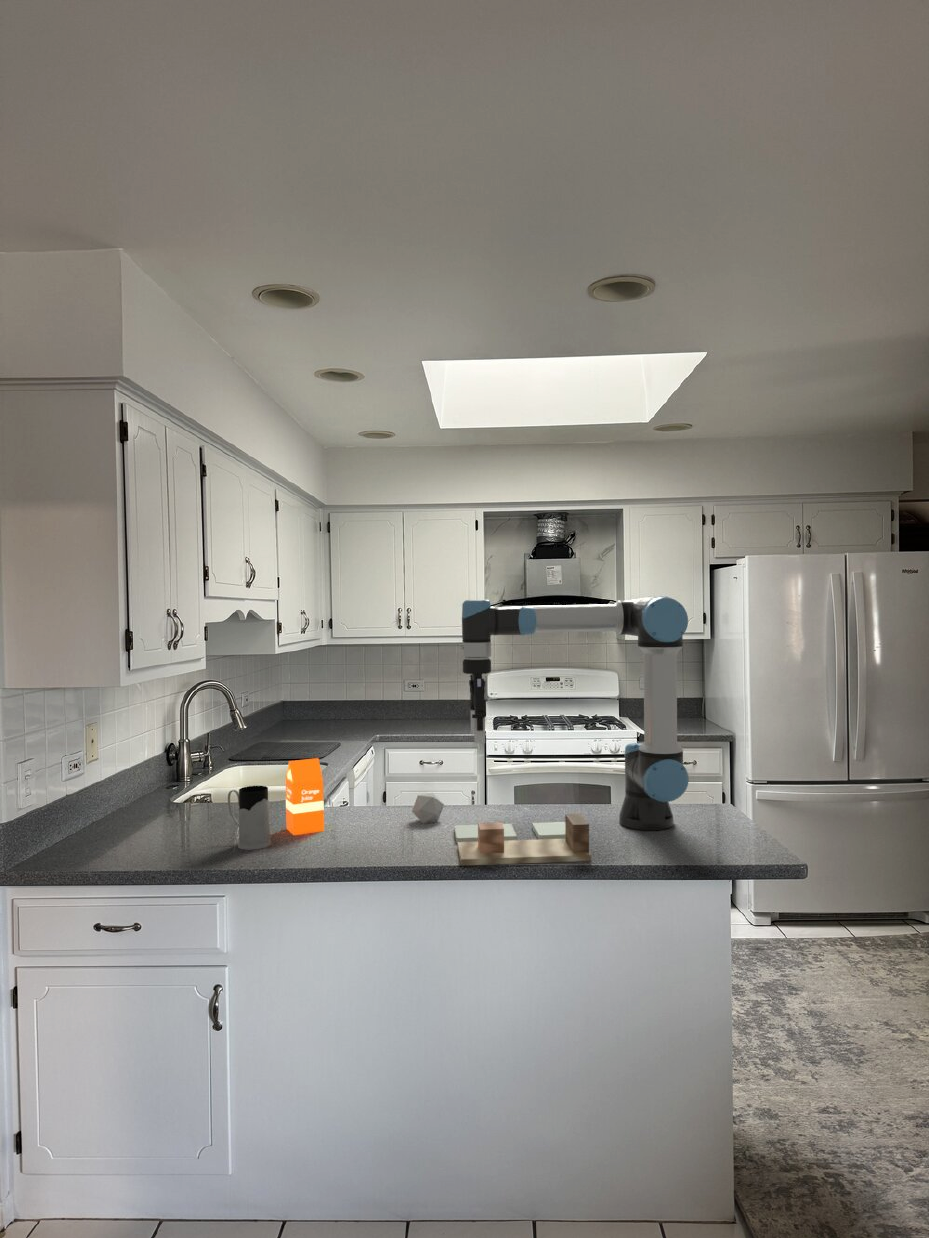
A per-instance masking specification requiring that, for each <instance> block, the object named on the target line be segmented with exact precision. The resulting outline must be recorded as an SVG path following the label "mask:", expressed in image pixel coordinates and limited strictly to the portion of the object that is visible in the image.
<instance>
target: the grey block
mask: <svg viewBox="0 0 929 1238" xmlns="http://www.w3.org/2000/svg"><path fill="white" fill-rule="evenodd" d="M415 799H416V800H415V802H414V805H413V807H412V810H411V812H412V813H413V815H414V816H415V817H416V818H418V820H419V821H420V822H421V823H422V824H427V823H428V824H429V823H432V822H433V823H434V822H438V821H439V819H440V818H441V814H442V811H443V808H444V805H445V804H444V803H443V802H442V801H441V799H440V798H439V797H438V796H437V795H436V794H434V792H430V793H424V794H423V793H422V794H418V795H417V797H416V798H415Z"/></svg>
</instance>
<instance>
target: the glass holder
mask: <svg viewBox="0 0 929 1238" xmlns="http://www.w3.org/2000/svg"><path fill="white" fill-rule="evenodd" d="M232 792H234V793H235V794H236V796H237V803H238V807H239V808H238V819H237V818H236V816H235V814H234V812H233V809H232V805H231V804H232V803H231V794H232ZM227 794H228V795H227V806H228V810H229V813H230V816H231V817H232V819H233V822H234V823H235V824H236V826H237V827H238V835H239V836H238V839H239V840H238V843H237V847H238V849H241V850H248V851H251V850H260V849H261V850H262V849H265V848H268V847H269V846H271V845H272V841H271V837H270V801H269V787H268V786H266V785H249V786H248V785H247V786H243V787H241V788H239V789H238V790H236V789H232V790H230V791H229V792H228V793H227Z"/></svg>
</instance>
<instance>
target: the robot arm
mask: <svg viewBox="0 0 929 1238" xmlns="http://www.w3.org/2000/svg"><path fill="white" fill-rule="evenodd" d="M461 607H462V608H461V633H462V634H461V635H462V636H461V638H462V645H460V646H459V649H460V650H462V657H463V659H462V672H463V674H465V675H466V674H467V675H469V678H470V679H469V681H468V685H469V693H470V695H469V697H470V698H469V701H470V702H469V706H470V708H469V709H470V735H474V737H473V738H474V744H486V715H487V714H486V713H487V712H486V703H485V702H486V700H485V699H486V698H485V695H486V689H485V687H486V681H485V678H483V674H485V675H486V674H490V673H492V660H491V658H490V657H492V639H491V636H523V637H524V636H526V635H527V636H528V635H530V636H531V635H533V634H534V635H535V633H570V632H571V633H574V632H575V633H579V632H580V633H581V632H587V633H588V632H592V633H593V632H614V633H615V634H616V635H617V636H620V635H622V636H623V635H627V636H636V637H637V647H638V649H639V650H640V651H641V652H642V653H643V708H644V709H643V720H644V721H643V729H644V730H643V735H644V737H643V740H644V741H643V742H634V743H633V742H632V743H628V744H626V746H625V749H624V754H623V755H624V782H625V783H624V787H625V788H624V789H625V793H624V794H625V795H624V799H623V802H622V804H621V809H620V811H619V813H618V814H619V815H618V817H619V819H618V820H619V824H620V825H621V826H623V827H624V828H625V827H626V828H629V829H634V830H641V831H660V830H667V829H669V828H670V829H671V828H673V826H674V815H673V812H672V808H671V805H670V803H669V802H673V801H676V800H678V799H679V798H681V797H682V795H684V794H685V792H686V790H687V789H688V786H689V781H690V780H689V773H688V771H687V768H686V767H685V765H684V749H683V747H682V746H680V744H679V743H678V684H677V683H678V656H677V655H678V653H679V651H681V650H682V649H683V645H684V644H683V643H684V642H683V641H684V640H683V636H684V634H685V633H686V632H687V629H688V625H689V618H688V617H689V616H688V612H687V611H686V609H685V607H684V606H683V604H682V603H680V602H679V601H678V600H676V599H675V598H671V597H669V596H663V595H659V596H647V597H639V598H635V599H628V600H616V602H614V604H612V603H611V604H566V605H565V604H564V605H562V604H559V605H503V606H499V607H498V606H492V605H491V601H490V599H467V600H464V601H463V603H462V605H461Z"/></svg>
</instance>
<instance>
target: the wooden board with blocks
mask: <svg viewBox="0 0 929 1238" xmlns="http://www.w3.org/2000/svg"><path fill="white" fill-rule="evenodd" d="M564 817H565V818H564V820H565V821H564V822H565V836H566V839H538V838H536V839H517V840H508V841H504V853H482V854H480V851H479V847H478V842H458V844H457V852H458V857H459V861H460V865H461V866H480V865H481V866H484V865H486V866H487V865H489V866H490V865H513V864H515V865H517V864H542V863H568V862H569V863H570V862H571V863H572V862H591V861H592V854H591V853H590V824H589V822H588V821H587V820H586V818H585V817H584V816H583V815H582V813H565V816H564Z"/></svg>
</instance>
